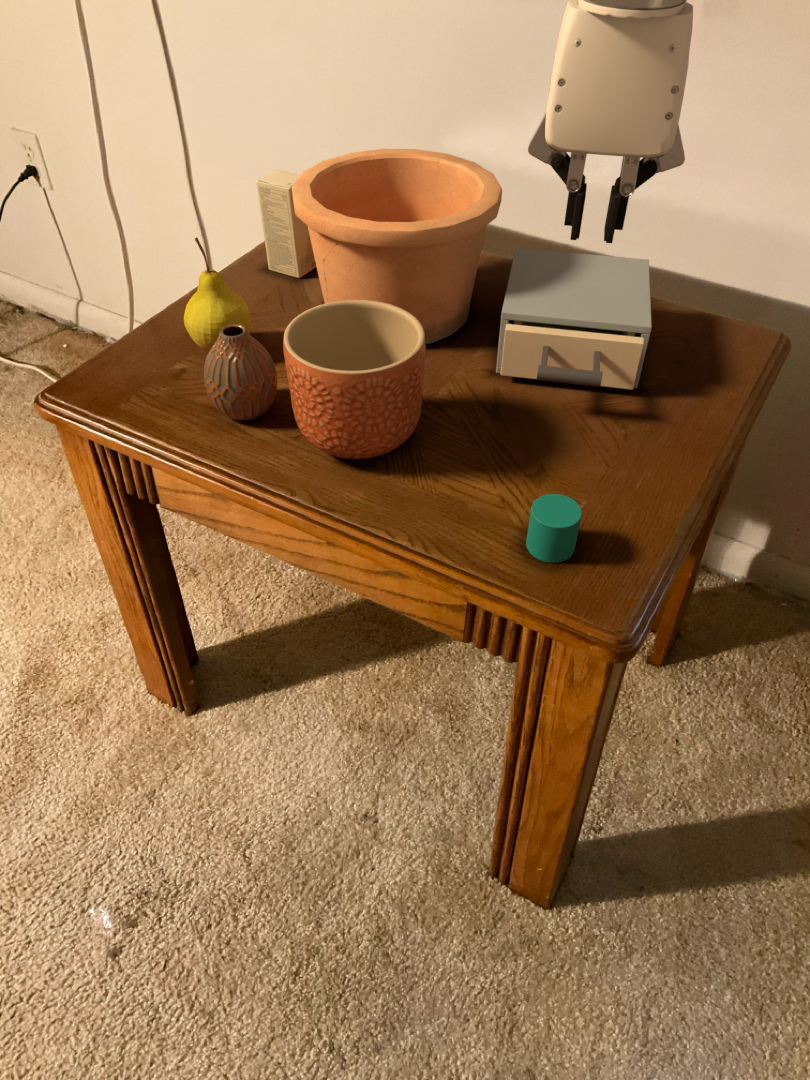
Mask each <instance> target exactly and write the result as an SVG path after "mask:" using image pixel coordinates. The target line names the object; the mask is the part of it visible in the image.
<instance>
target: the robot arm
mask: <svg viewBox="0 0 810 1080" xmlns="http://www.w3.org/2000/svg"><path fill="white" fill-rule="evenodd" d="M693 24H694V6H693V4H692V3H689V2H688V1H687V0H568V1H567V4H566V7H565V10H564V13H563V17H562V21H561V25H560V29H559V33H558V37H557V42H556V48H555V54H554V60H553V66H552V71H551V77H550V84H549V90H548V91H549V92H548V98H547V104H546V111H545V113H544V115H543V116H542V119H541V121H540V122H539V124H538V126H537V128H536V130H535V131H534V133H533V135H532V137H531V139H530V140H529V143H528V146H527V152H528V154H529V155H530V156H532V157H533V158H535V159H537V160H539V161H540V162H542V163H544V164H546V165H548V166H550V167H551V169H553V171H554V172H555V173H556V174H557V176H558V177H559V178H560V179H561V181H562V182H563V183H564V185H565V188H566V190H567V191H568V194H567V201H566V207H565V216H564V223H563V226H566V227H567V226H568V227H571V230H570V231H571V232H570V238H569V239H570V241H577V240H580V234H581V230H582V229H581V228H582V222H583V216H584V209H585V202H586V196H587V187H588V186H587V185H588V183H586V176H585V174H584V172H585V168H586V167H585V166H586V162H587V156H588V155H599V156H613V157H622V160H621V167H620V173H619V176H618V177H617V178H616V179H615V181H614V184H613V185H611V189H610V194H609V199H608V200H609V201H608V206H607V210H606V211H607V212H606V218H605V223H604V228H603V229H604V230H603V242H605V243H606V244H613V241H614V236H615V231H623V229H624V225H625V220H626V215H627V209H628V205H629V199H630V197H631V196H633V195H634V193H635V190H637V189H638V188H640V187H641V186H642V185H643V184H645V183H646V182H648V181H650V179H651V178H653V177H654V176H655V175H656V174H659V173H664V172H665V171H669V170H672V169H675V168H677V167H681V166H683V165H684V164H685V161H686V155H685V150H684V145H683V140H682V135H681V130H680V125H679V123H680V117H681V112H682V107H683V102H684V96H685V89H686V83H687V77H688V71H689V63H690V62H689V61H690V50H691V41H692V36H693V26H694V25H693ZM569 153H570V155H569Z"/></svg>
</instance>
